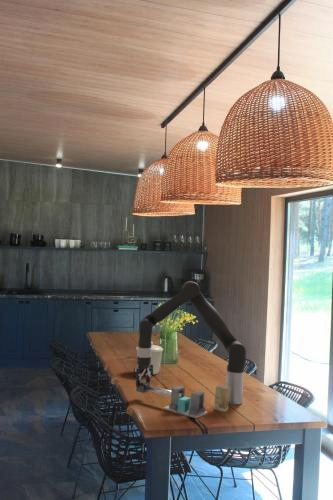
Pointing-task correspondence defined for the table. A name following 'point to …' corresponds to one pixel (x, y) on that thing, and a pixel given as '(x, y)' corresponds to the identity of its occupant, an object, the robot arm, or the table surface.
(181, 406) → the spacer
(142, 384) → the shaft
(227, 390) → the skincare box
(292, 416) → the table surface
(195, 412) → the bearing stand
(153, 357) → the canister
